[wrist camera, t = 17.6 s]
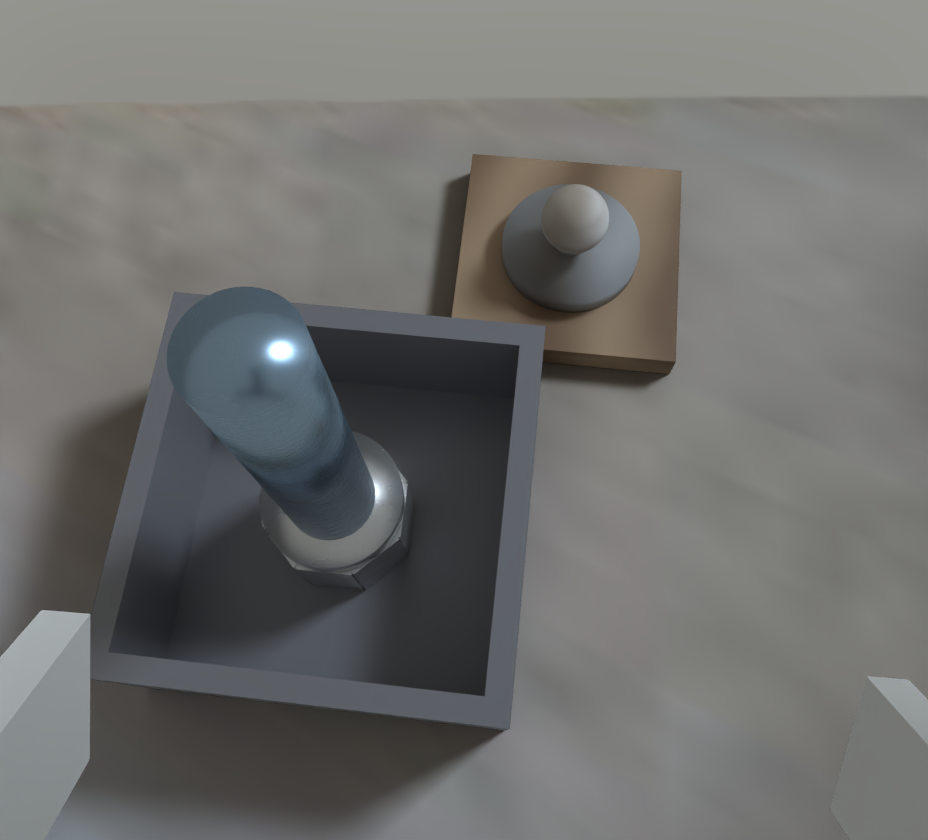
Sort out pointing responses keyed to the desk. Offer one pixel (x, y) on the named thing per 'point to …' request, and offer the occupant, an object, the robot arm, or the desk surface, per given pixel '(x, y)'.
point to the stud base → (575, 258)
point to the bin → (324, 608)
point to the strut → (292, 437)
